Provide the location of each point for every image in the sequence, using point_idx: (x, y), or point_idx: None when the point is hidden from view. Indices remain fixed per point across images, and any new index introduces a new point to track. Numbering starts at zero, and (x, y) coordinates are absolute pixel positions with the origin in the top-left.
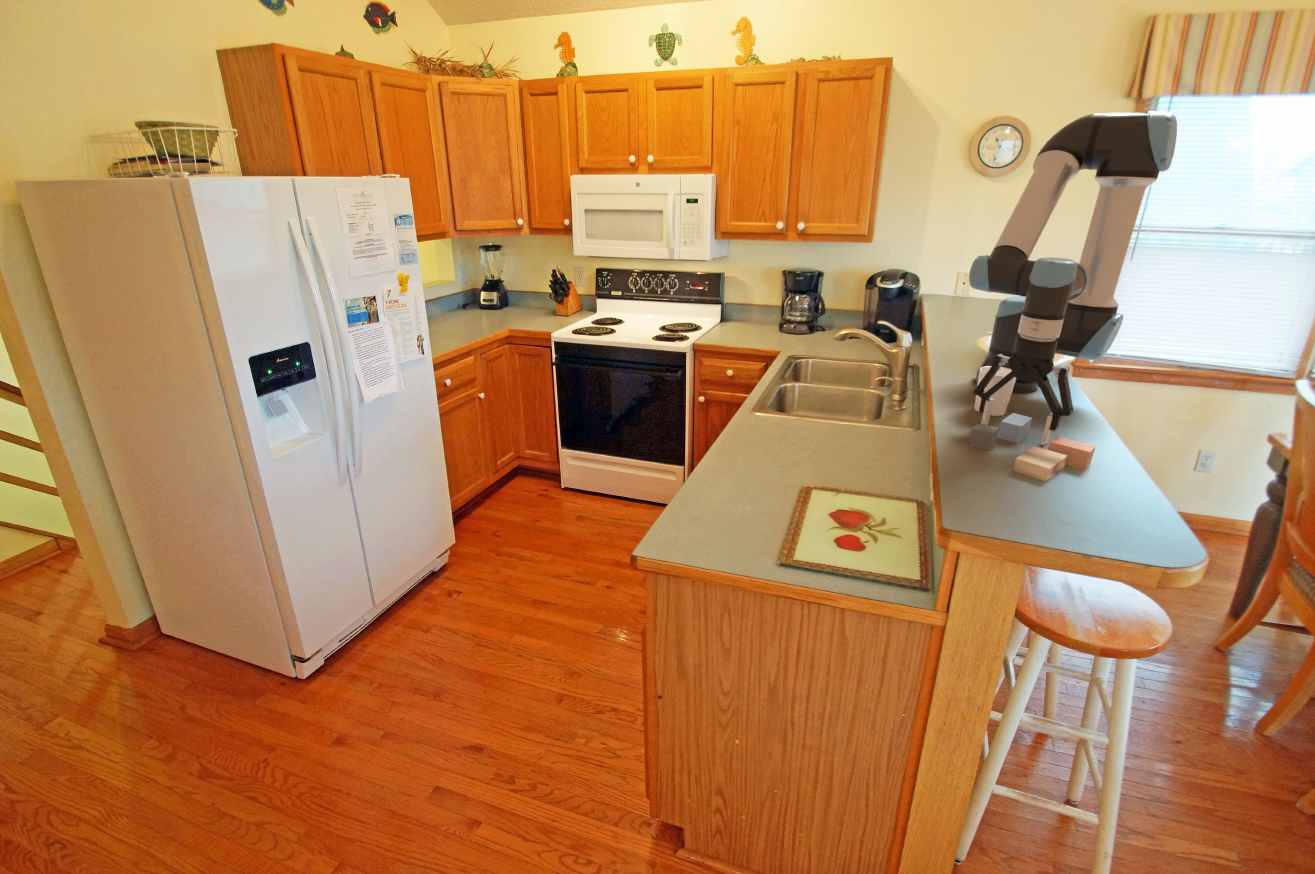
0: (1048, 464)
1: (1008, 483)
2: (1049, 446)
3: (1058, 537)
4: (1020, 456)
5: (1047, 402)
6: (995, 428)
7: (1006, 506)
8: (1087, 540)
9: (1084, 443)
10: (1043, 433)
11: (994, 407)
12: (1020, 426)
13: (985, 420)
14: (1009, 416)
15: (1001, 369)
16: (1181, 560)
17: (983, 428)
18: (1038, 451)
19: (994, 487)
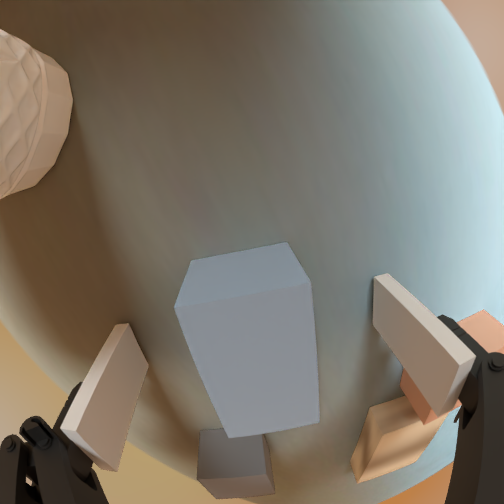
0: (414, 456)
1: (355, 479)
2: (418, 413)
3: (416, 480)
4: (363, 476)
5: (452, 479)
6: (259, 479)
7: (366, 494)
8: (438, 465)
9: (500, 349)
10: (394, 353)
11: (25, 173)
12: (313, 422)
13: (137, 390)
14: (206, 374)
15: None
16: None
17: (235, 491)
18: (394, 444)
19: (341, 491)
